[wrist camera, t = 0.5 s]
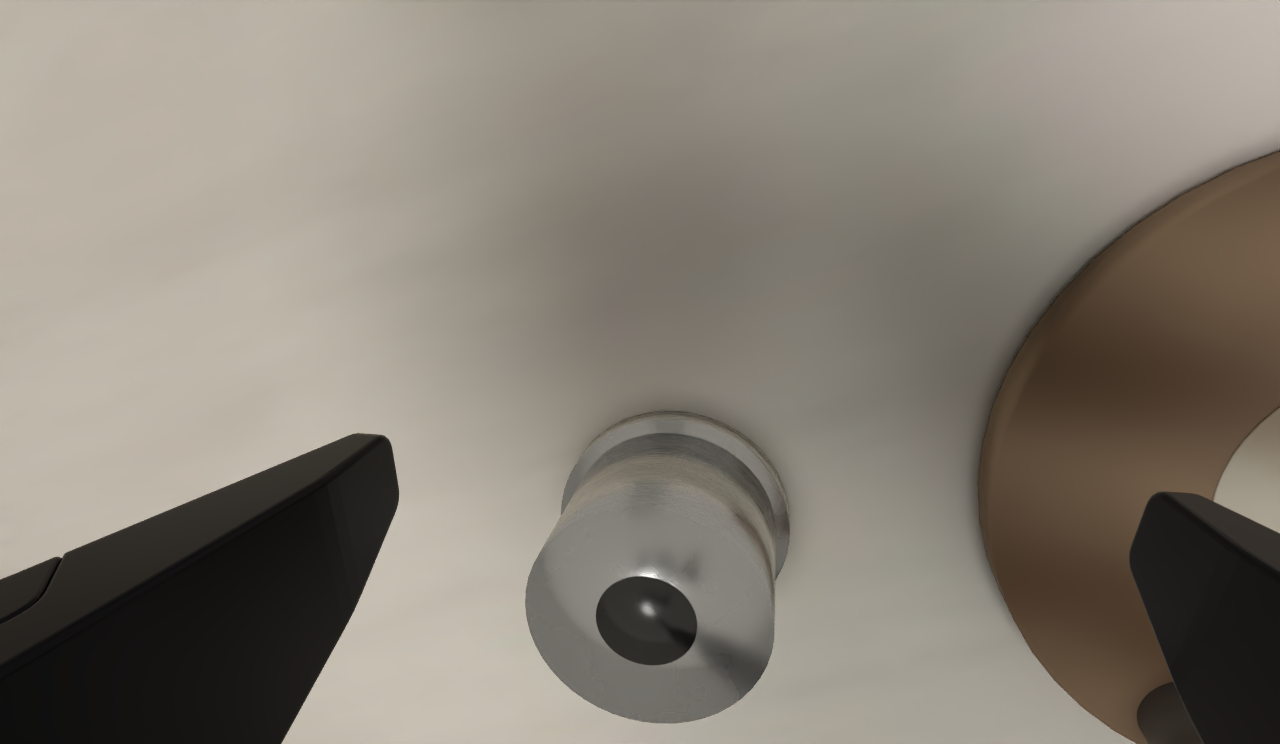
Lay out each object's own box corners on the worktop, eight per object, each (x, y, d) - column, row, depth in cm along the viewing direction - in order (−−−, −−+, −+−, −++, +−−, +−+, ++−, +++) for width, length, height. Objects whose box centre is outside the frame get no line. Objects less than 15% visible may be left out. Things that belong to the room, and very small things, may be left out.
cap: (727, 644, 25) (712, 779, 20) (537, 550, 25) (473, 659, 20) (831, 475, 22) (846, 579, 17) (618, 372, 23) (570, 444, 17)
